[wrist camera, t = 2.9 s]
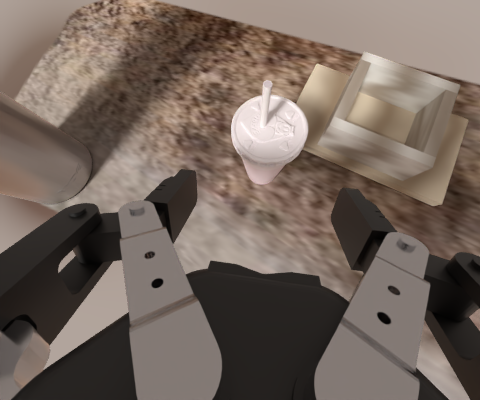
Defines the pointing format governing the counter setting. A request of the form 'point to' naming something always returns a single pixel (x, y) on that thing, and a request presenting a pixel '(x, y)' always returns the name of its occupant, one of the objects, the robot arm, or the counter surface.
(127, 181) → the counter surface
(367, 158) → the dock
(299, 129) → the smoothie
